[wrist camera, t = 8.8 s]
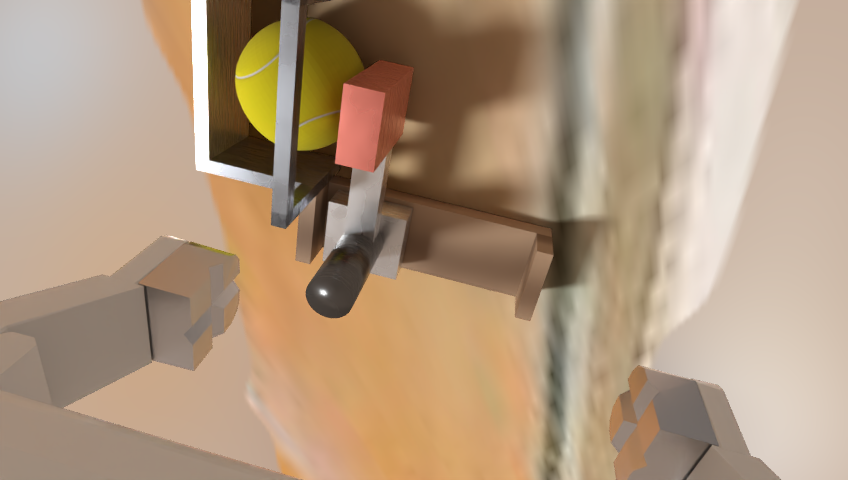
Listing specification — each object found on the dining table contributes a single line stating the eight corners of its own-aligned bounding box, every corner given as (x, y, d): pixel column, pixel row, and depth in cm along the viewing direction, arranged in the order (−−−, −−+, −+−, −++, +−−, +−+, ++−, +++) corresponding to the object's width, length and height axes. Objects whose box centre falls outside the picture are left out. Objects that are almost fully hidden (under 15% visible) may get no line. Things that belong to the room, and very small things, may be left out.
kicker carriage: (355, 54, 30) (297, 83, 23) (439, 73, 30) (409, 109, 23) (333, 246, 37) (282, 318, 29) (402, 263, 36) (369, 341, 29)
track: (320, 172, 36) (300, 192, 32) (551, 228, 35) (553, 255, 31) (314, 235, 38) (295, 260, 35) (530, 290, 37) (530, 321, 34)
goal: (239, -48, 30) (136, -51, 22) (361, -21, 30) (300, -15, 22) (236, 144, 36) (154, 195, 28) (340, 169, 35) (285, 228, 27)
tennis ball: (249, 51, 33) (184, 71, 27) (338, -12, 30) (289, -6, 24) (313, 148, 35) (267, 187, 29) (401, 97, 32) (370, 129, 26)
